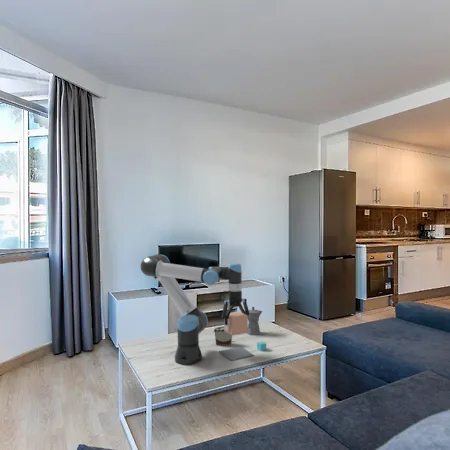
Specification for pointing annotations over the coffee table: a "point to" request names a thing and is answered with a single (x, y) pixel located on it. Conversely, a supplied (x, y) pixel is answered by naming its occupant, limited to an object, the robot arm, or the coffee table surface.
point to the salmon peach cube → (237, 323)
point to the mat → (236, 353)
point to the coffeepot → (253, 322)
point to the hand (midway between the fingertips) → (235, 328)
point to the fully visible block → (261, 346)
